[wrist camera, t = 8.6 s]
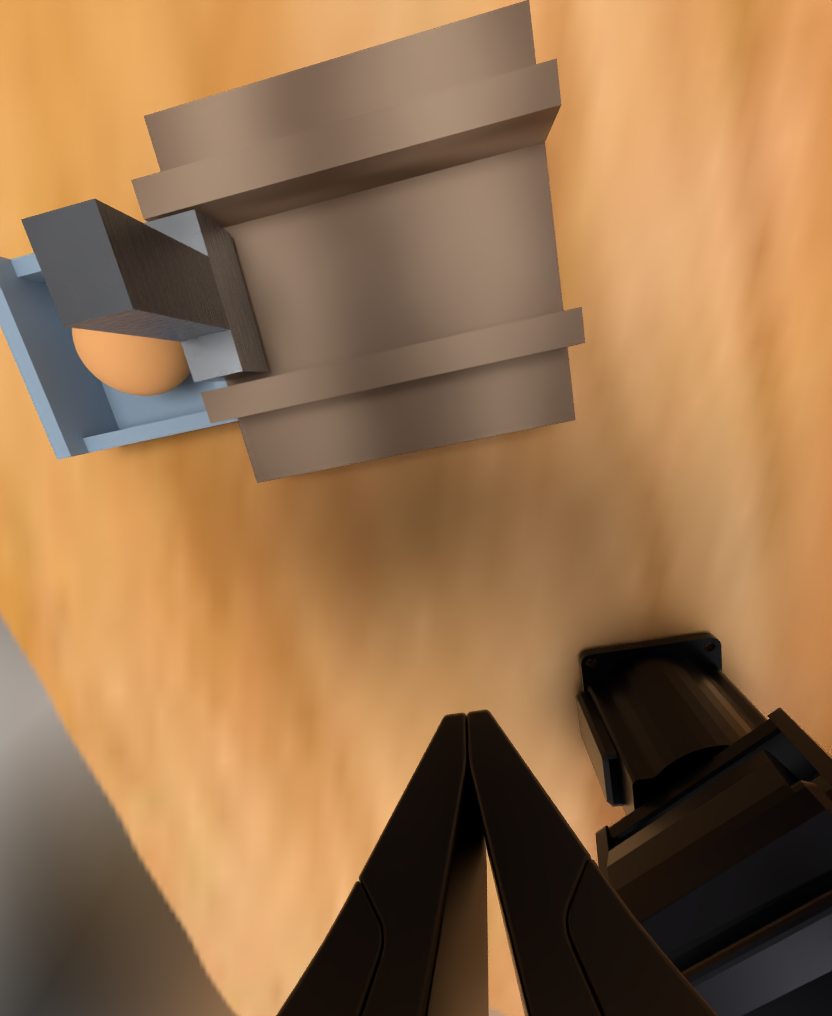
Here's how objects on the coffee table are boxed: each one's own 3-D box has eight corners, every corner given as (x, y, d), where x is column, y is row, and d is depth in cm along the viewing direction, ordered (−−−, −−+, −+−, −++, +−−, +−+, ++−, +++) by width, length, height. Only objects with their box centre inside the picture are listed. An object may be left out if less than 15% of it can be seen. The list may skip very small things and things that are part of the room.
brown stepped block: (511, 77, 16) (543, -67, 11) (552, 412, 19) (593, 425, 14) (200, 165, 18) (97, 75, 12) (287, 465, 21) (234, 496, 15)
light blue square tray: (213, 235, 18) (162, 204, 15) (265, 414, 20) (230, 422, 17) (54, 278, 19) (-29, 257, 16) (119, 446, 21) (57, 459, 18)
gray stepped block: (230, 233, 15) (68, 125, 8) (269, 371, 16) (154, 369, 10) (184, 245, 15) (-7, 149, 9) (226, 381, 16) (85, 384, 10)
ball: (165, 297, 19) (187, 266, 16) (196, 391, 20) (222, 379, 17) (51, 303, 17) (53, 268, 14) (92, 409, 18) (103, 398, 15)
